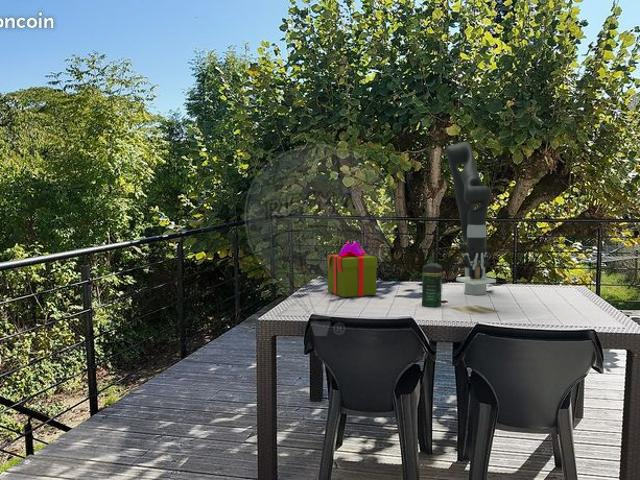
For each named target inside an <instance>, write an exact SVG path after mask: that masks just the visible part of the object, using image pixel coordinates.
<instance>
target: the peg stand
mask: <svg viewBox="0 0 640 480" xmlns="http://www.w3.org/2000/svg"><path fill="white" fill-rule="evenodd" d="M474 270H475V279H471V278H470V276H469V277H465V276H460V277H455V278H456V279H455V281H456V282H461V283H464V284H465V283H469V284H473V285H476V284H486V285H487V284H493V283H494V284H495V283H497V279H496V278H490V277H487V278H486V277H482V278H480V266H475V269H474Z"/></svg>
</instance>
